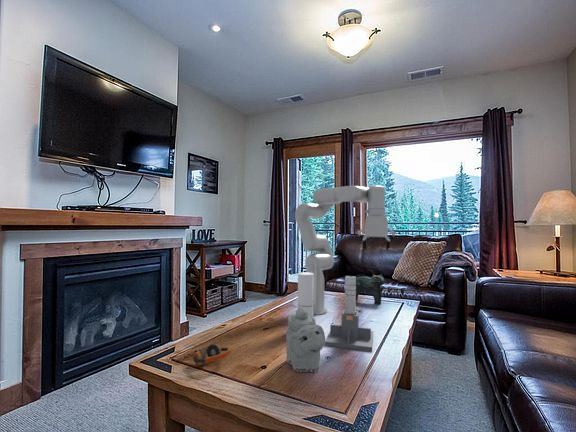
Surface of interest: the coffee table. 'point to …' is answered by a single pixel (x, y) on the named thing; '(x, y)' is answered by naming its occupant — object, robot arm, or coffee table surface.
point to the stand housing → (350, 334)
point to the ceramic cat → (370, 286)
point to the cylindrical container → (306, 291)
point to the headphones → (210, 354)
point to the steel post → (350, 295)
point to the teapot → (304, 342)
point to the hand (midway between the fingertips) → (376, 249)
